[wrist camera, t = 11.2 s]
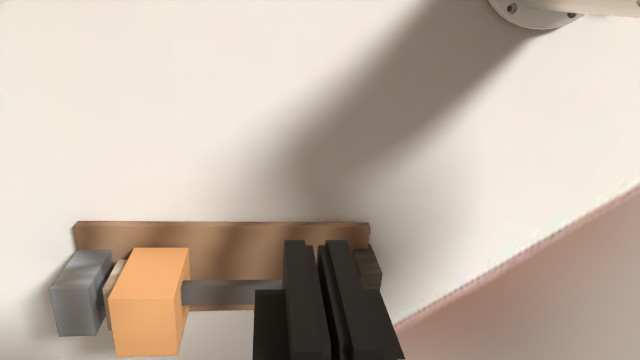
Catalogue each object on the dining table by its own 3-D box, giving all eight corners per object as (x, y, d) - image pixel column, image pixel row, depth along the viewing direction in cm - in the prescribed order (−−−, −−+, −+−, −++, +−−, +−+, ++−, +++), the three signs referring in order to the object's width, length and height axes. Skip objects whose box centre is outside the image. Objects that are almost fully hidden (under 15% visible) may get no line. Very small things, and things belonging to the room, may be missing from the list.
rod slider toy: (372, 222, 45) (390, 261, 39) (362, 301, 49) (376, 348, 43) (77, 221, 41) (43, 263, 35) (92, 306, 45) (63, 358, 39)
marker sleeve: (188, 247, 42) (173, 298, 35) (191, 298, 44) (177, 355, 38) (134, 247, 42) (107, 299, 35) (139, 299, 44) (116, 357, 37)
